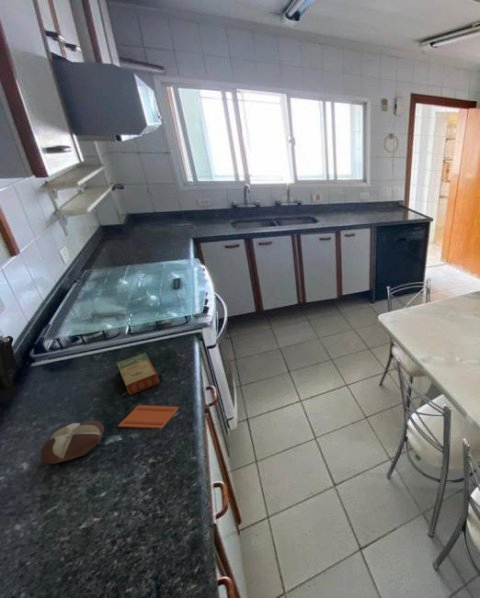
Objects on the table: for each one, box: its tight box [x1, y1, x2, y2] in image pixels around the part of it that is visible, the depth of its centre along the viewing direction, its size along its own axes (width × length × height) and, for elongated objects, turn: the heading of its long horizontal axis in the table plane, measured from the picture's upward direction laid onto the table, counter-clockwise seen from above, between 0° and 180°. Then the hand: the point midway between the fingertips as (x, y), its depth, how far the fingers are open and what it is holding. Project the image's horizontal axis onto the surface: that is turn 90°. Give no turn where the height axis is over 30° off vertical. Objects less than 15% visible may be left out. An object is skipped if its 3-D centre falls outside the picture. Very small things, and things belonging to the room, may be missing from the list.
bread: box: [40, 420, 105, 465], centre depth 83 cm, size 11×11×5 cm
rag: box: [117, 404, 179, 429], centre depth 94 cm, size 12×8×1 cm, turn 91°
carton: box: [116, 352, 161, 396], centre depth 107 cm, size 8×16×4 cm, turn 46°
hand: (8, 398), depth 77 cm, fingers closed
